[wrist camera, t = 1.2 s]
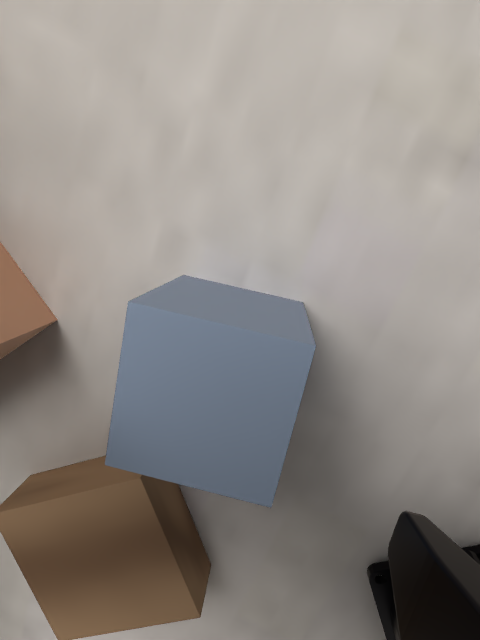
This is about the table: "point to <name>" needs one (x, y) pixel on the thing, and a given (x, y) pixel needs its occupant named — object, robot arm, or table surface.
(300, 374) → the slate block
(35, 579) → the walnut slab
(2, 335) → the terracotta block
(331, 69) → the table surface
